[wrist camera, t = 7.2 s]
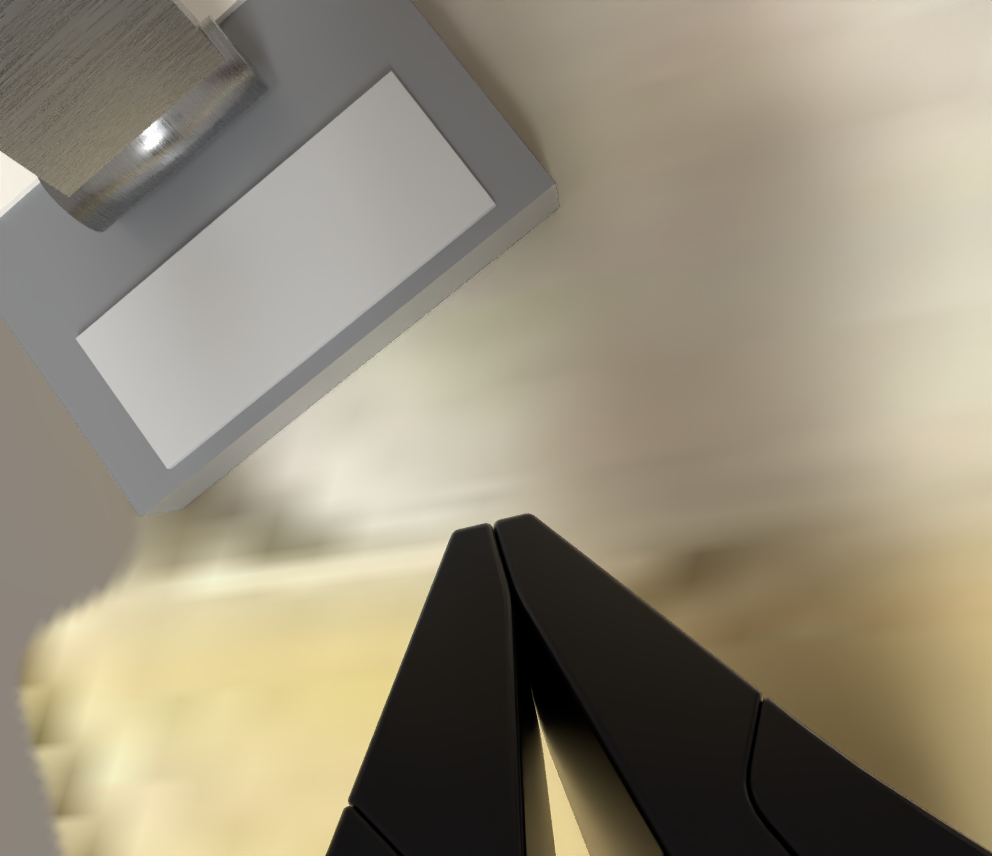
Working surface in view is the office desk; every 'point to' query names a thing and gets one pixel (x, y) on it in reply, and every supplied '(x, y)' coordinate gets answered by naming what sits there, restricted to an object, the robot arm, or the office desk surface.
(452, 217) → the switch base
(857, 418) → the office desk surface
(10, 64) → the toggle lever
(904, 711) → the office desk surface
